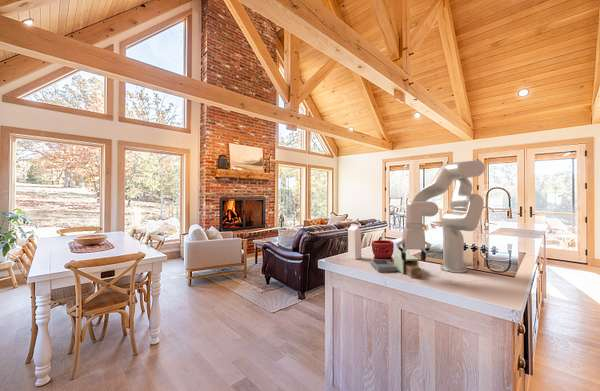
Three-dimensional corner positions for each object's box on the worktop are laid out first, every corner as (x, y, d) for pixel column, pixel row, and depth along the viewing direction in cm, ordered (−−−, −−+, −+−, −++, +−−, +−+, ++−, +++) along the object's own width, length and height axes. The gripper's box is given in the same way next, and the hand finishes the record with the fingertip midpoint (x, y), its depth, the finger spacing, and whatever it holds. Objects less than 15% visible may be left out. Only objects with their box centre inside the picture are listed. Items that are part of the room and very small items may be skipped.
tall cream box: (408, 267, 148) (408, 253, 148) (418, 273, 136) (418, 258, 136) (394, 267, 148) (393, 253, 148) (402, 273, 136) (402, 259, 136)
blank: (412, 272, 139) (412, 262, 139) (421, 278, 129) (421, 268, 129) (403, 272, 139) (402, 263, 139) (411, 278, 129) (411, 268, 129)
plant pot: (395, 259, 165) (395, 240, 165) (391, 264, 154) (390, 244, 154) (375, 256, 172) (375, 238, 172) (369, 261, 161) (368, 242, 160)
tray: (387, 264, 154) (387, 259, 154) (396, 271, 139) (396, 266, 139) (370, 264, 154) (370, 259, 154) (378, 272, 139) (378, 267, 139)
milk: (355, 259, 165) (354, 225, 165) (348, 257, 170) (347, 224, 170) (361, 258, 169) (361, 224, 169) (354, 256, 174) (353, 223, 173)
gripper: (427, 225, 134) (426, 258, 134) (394, 225, 134) (393, 258, 134) (435, 227, 127) (434, 262, 127) (399, 227, 126) (399, 262, 126)
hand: (413, 260), depth 130 cm, fingers open, 9 cm apart
